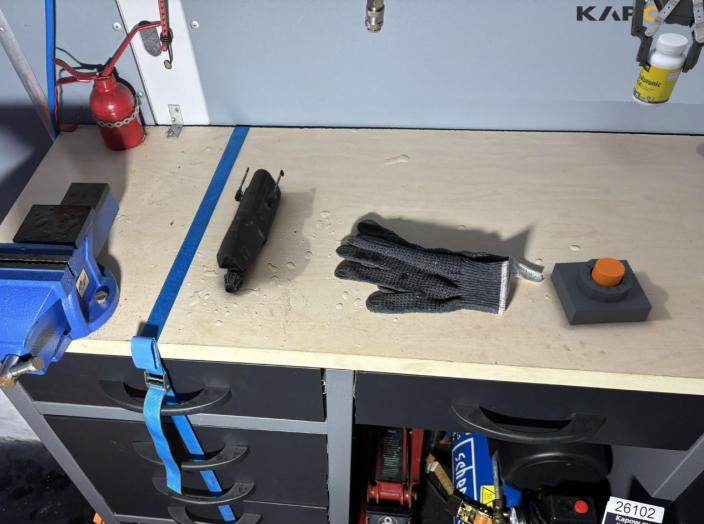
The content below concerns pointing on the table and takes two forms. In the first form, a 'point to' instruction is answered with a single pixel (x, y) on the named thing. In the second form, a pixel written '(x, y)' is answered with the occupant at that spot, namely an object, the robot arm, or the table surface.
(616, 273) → the orange button cap
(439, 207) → the table surface
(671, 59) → the supplement bottle
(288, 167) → the table surface
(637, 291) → the button housing
